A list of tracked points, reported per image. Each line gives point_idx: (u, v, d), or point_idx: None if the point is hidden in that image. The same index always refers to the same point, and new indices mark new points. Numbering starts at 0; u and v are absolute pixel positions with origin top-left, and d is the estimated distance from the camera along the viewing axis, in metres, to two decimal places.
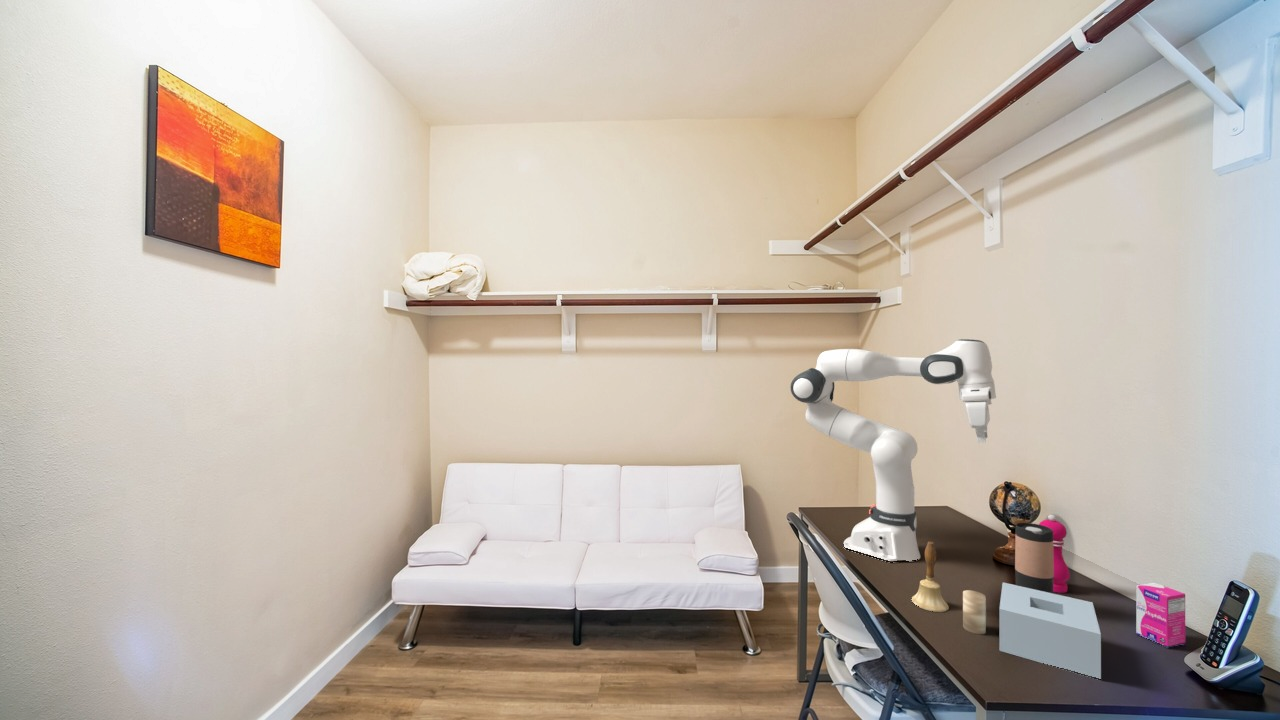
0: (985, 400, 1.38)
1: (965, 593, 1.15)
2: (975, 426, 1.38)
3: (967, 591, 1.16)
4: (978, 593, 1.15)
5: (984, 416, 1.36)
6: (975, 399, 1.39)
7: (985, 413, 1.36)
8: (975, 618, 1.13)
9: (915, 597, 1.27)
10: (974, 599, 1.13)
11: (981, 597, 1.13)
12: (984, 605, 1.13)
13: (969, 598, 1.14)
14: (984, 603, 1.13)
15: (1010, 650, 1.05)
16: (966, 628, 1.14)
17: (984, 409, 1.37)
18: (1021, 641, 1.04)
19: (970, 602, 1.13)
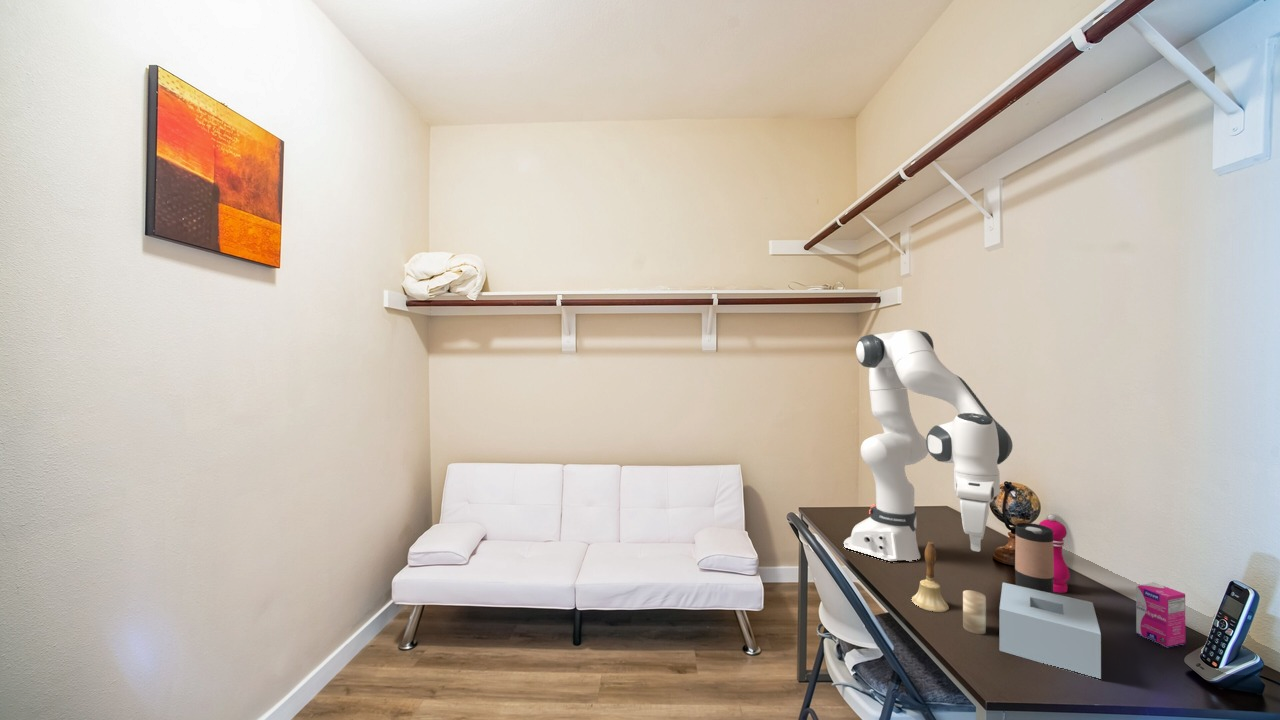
0: (986, 501, 1.07)
1: (965, 593, 1.15)
2: (969, 533, 1.08)
3: (967, 591, 1.16)
4: (978, 593, 1.15)
5: (982, 522, 1.06)
6: (973, 497, 1.08)
7: (984, 518, 1.06)
8: (976, 618, 1.13)
9: (915, 597, 1.27)
10: (974, 599, 1.13)
11: (981, 597, 1.13)
12: (984, 605, 1.13)
13: (969, 598, 1.14)
14: (984, 603, 1.13)
15: (1010, 650, 1.05)
16: (966, 628, 1.14)
17: (983, 513, 1.06)
18: (1021, 641, 1.04)
19: (970, 602, 1.13)
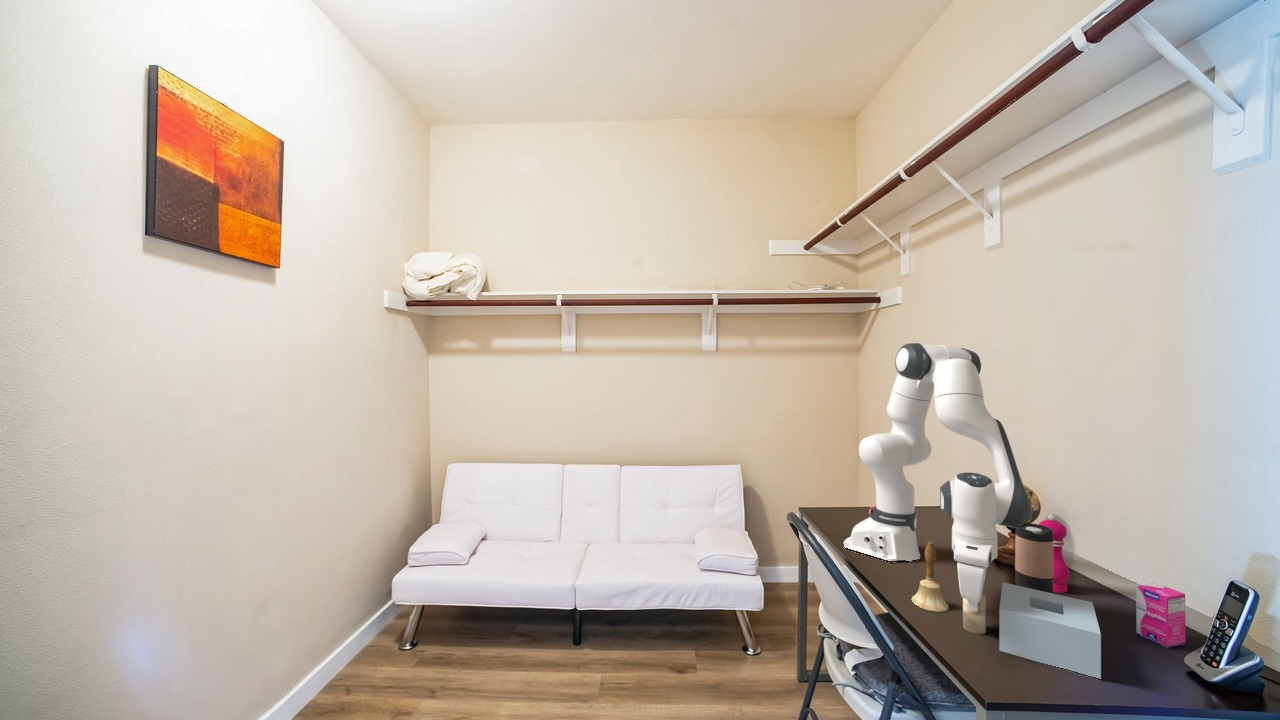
0: (983, 566, 1.07)
1: None
2: (966, 597, 1.08)
3: None
4: None
5: (979, 588, 1.06)
6: (970, 562, 1.08)
7: (981, 584, 1.06)
8: (975, 617, 1.13)
9: (915, 597, 1.27)
10: None
11: (981, 597, 1.13)
12: (984, 605, 1.13)
13: None
14: (984, 603, 1.13)
15: (1010, 650, 1.05)
16: (966, 628, 1.14)
17: (980, 579, 1.06)
18: (1021, 641, 1.04)
19: None
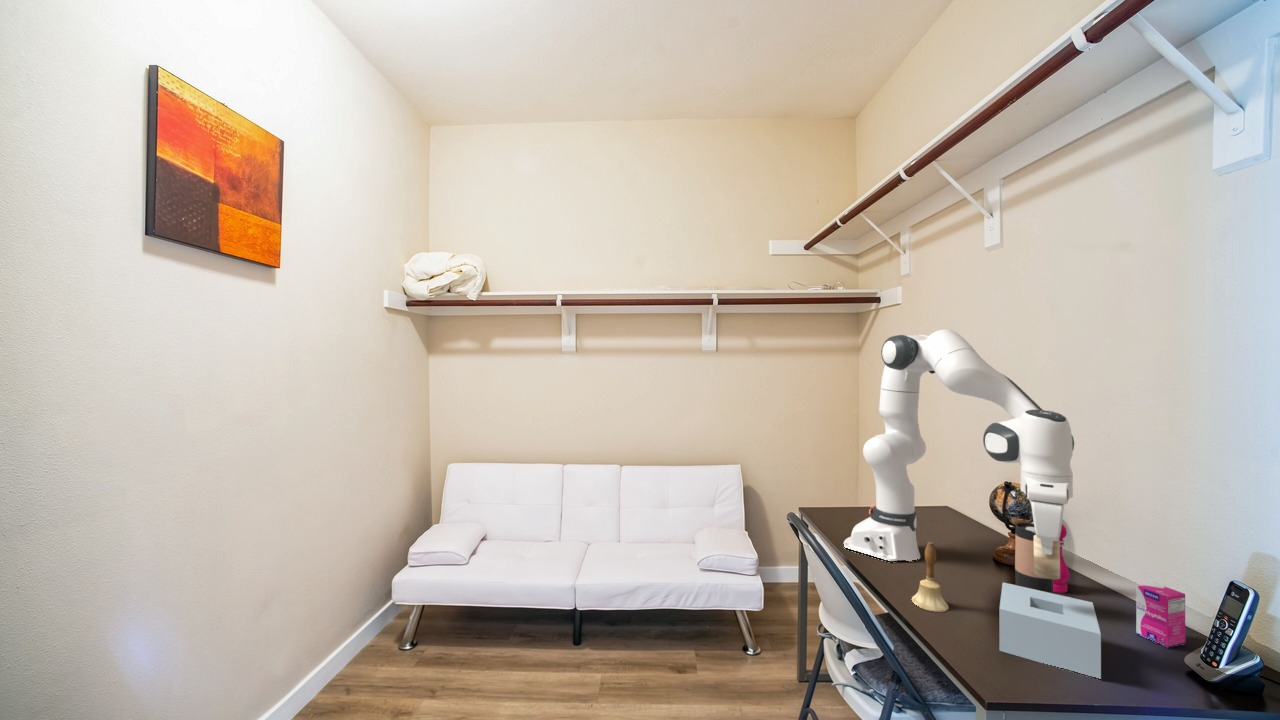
0: (1061, 503, 1.00)
1: (1036, 537, 1.08)
2: (1042, 537, 1.00)
3: None
4: None
5: (1058, 526, 0.99)
6: (1047, 500, 1.01)
7: (1060, 522, 0.99)
8: (1049, 562, 1.05)
9: (915, 597, 1.27)
10: None
11: None
12: (1058, 548, 1.06)
13: None
14: (1058, 546, 1.06)
15: (1010, 650, 1.05)
16: (1038, 574, 1.07)
17: (1059, 516, 0.99)
18: (1021, 641, 1.04)
19: None
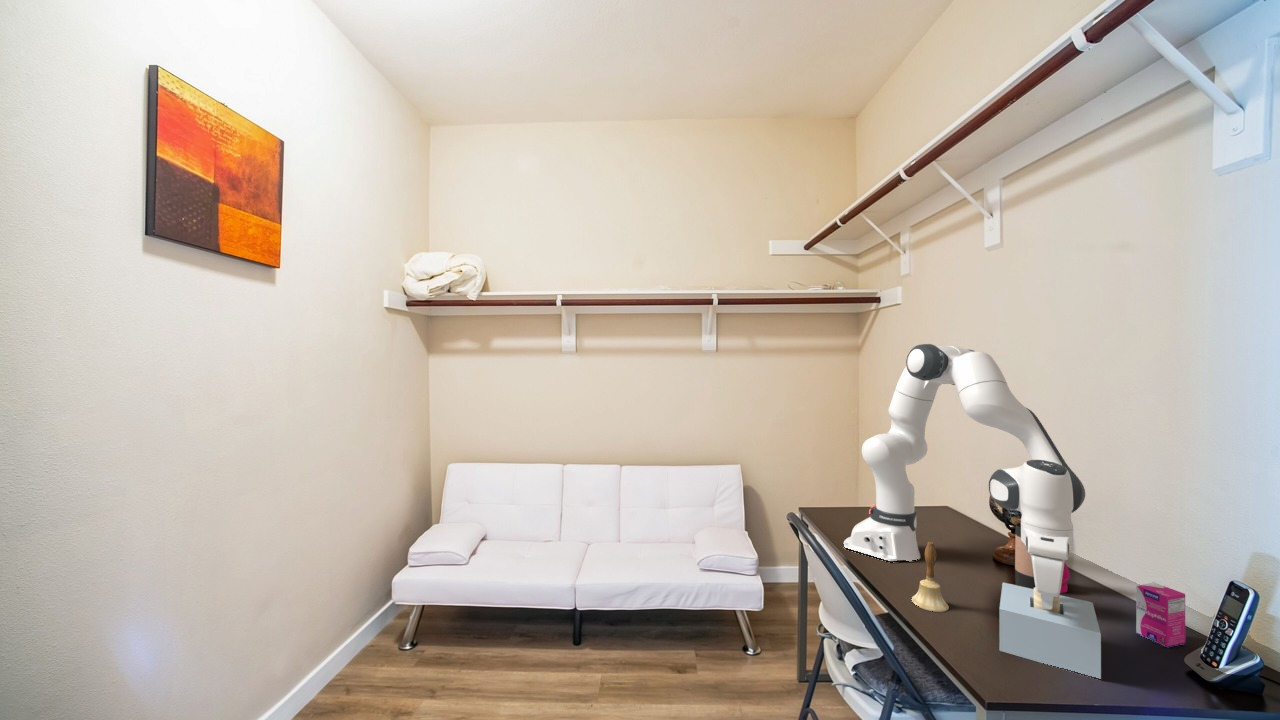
0: (1062, 559, 1.00)
1: (1036, 590, 1.08)
2: (1042, 592, 1.00)
3: None
4: None
5: (1058, 582, 0.99)
6: (1047, 555, 1.01)
7: (1060, 578, 0.99)
8: None
9: (915, 597, 1.27)
10: None
11: None
12: (1058, 603, 1.06)
13: None
14: (1058, 601, 1.06)
15: (1010, 650, 1.05)
16: None
17: (1059, 572, 0.99)
18: (1021, 641, 1.04)
19: None
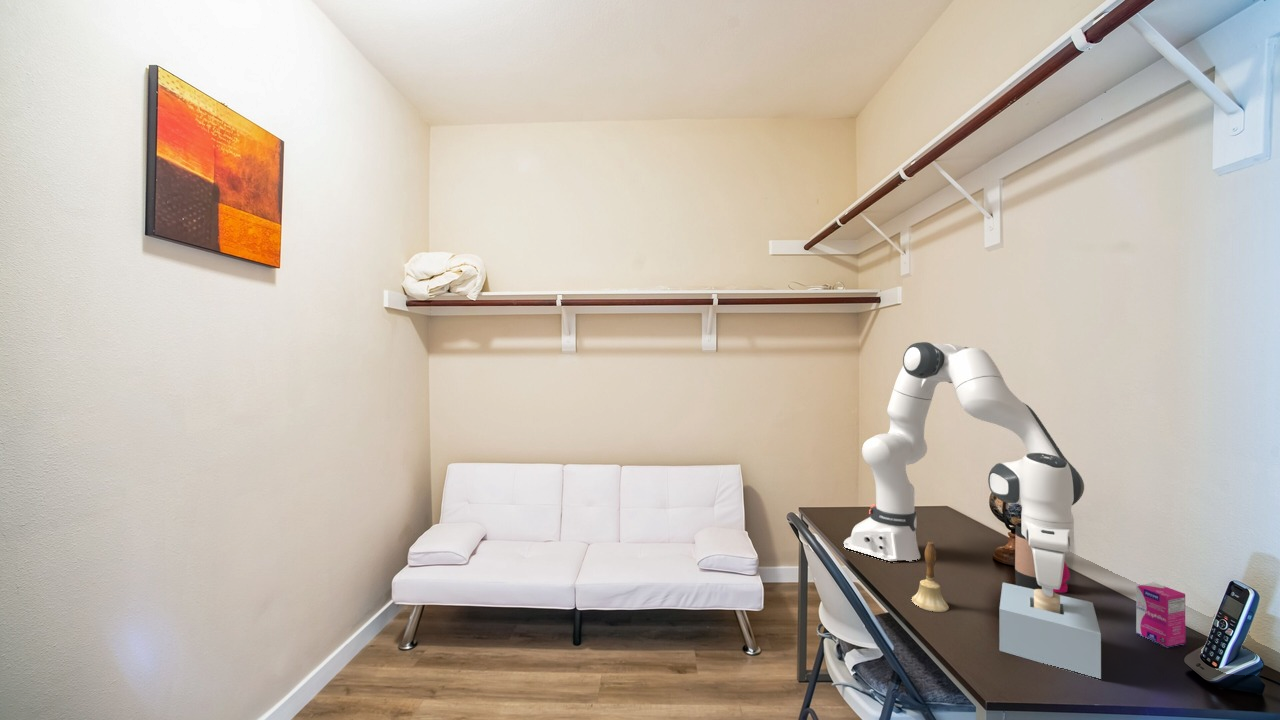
0: (1062, 551, 1.00)
1: (1037, 592, 1.08)
2: (1043, 585, 1.00)
3: (1038, 590, 1.09)
4: None
5: (1059, 574, 0.99)
6: (1048, 547, 1.01)
7: (1061, 570, 0.99)
8: None
9: (915, 597, 1.27)
10: (1048, 599, 1.06)
11: (1055, 596, 1.06)
12: (1059, 605, 1.06)
13: (1042, 597, 1.06)
14: (1059, 603, 1.06)
15: (1010, 650, 1.05)
16: None
17: (1060, 565, 0.99)
18: (1021, 641, 1.04)
19: (1043, 602, 1.06)
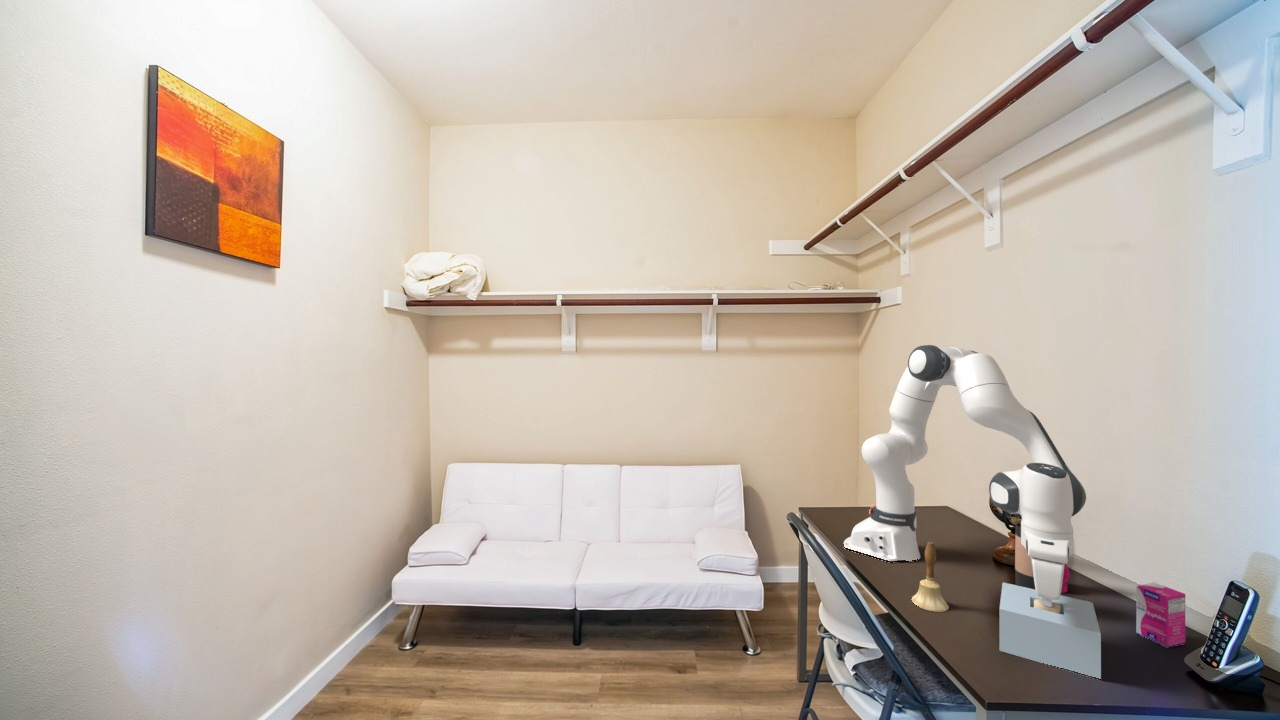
0: (1062, 562, 1.00)
1: (1037, 602, 1.08)
2: (1042, 596, 1.00)
3: (1038, 600, 1.09)
4: None
5: (1058, 586, 0.99)
6: (1047, 558, 1.01)
7: (1060, 582, 0.99)
8: None
9: (915, 597, 1.27)
10: (1048, 609, 1.06)
11: (1055, 607, 1.06)
12: None
13: (1042, 608, 1.06)
14: (1059, 613, 1.06)
15: (1010, 650, 1.05)
16: None
17: (1059, 576, 0.99)
18: (1021, 641, 1.04)
19: None
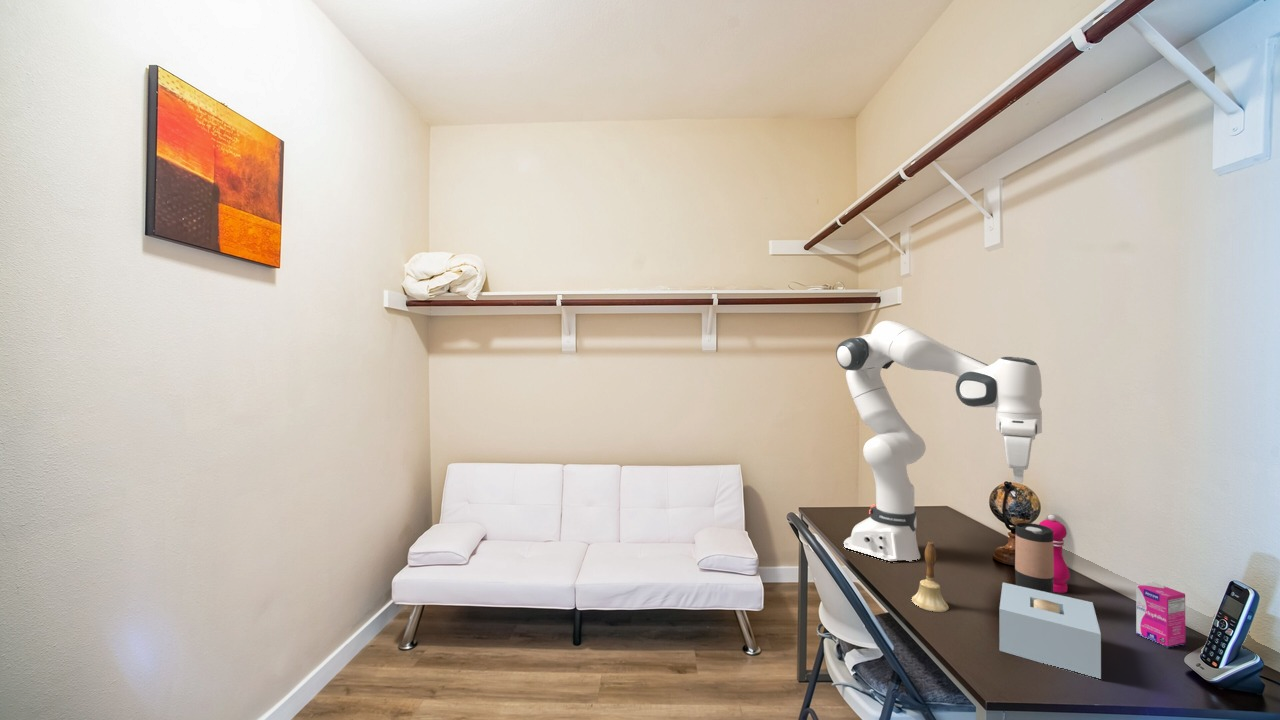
0: (1030, 436, 1.11)
1: (1036, 602, 1.08)
2: (1013, 467, 1.12)
3: (1038, 600, 1.09)
4: (1050, 602, 1.08)
5: (1027, 455, 1.10)
6: (1017, 433, 1.12)
7: (1028, 452, 1.10)
8: None
9: (915, 597, 1.27)
10: (1048, 609, 1.06)
11: (1054, 607, 1.06)
12: None
13: (1042, 608, 1.06)
14: (1058, 613, 1.06)
15: (1010, 650, 1.05)
16: None
17: (1028, 447, 1.11)
18: (1021, 641, 1.04)
19: None
